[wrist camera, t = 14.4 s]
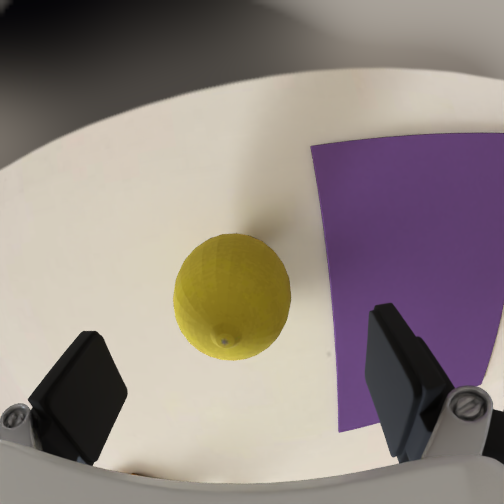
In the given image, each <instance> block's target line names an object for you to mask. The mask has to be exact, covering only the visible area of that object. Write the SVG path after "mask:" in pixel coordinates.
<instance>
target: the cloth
mask: <svg viewBox="0 0 504 504" xmlns="http://www.w3.org/2000/svg"><path fill="white" fill-rule="evenodd" d="M311 152H312V158H313V164H314V169H315V175H316V181H317V187H318V194H319V200H320V207H321V214H322V221H323V228H324V236H325V244H326V252H327V260H328V269H329V278H330V288H331V298H332V309H333V321H334V335H335V350H336V367H337V390H338V431H339V433H340V432H344V431H349V430H353V429H357V428H361V427H365V426H369V425H372V424H376V423H380V420H379V417H378V415H377V412H376V409H375V406H374V403H373V400H372V397H371V395H370V392H369V389H368V386H367V384H366V381H365V362H366V351H367V337H368V319H369V311H371V310H374V307H375V305H380V304H385V303H393V305H394V306H395V307H396V309H397V310H398V311H399V313H400V314H401V316H402V317H403V319H404V320H405V321H406V323H407V324H408V326H409V327H410V329H411V330H412V331H413V333H414V334H415V336H416V337H417V336H419V337H421V338H422V339H423V340H424V342H425V343H426V344H427V346H428V347H429V349H430V350H431V352H432V353H433V355H434V356H435V358H436V359H437V361H438V362H439V364H440V365H441V367H442V368H443V370H444V371H445V373H446V374H447V376H448V377H449V379H450V381H451V382H452V384H453V385H454V387H455V388H457V387H459V386H465V385H471V386H479V385H481V384H482V381H483V378H484V375H485V372H486V369H487V366H488V363H489V360H490V357H491V353H492V350H493V346H494V343H495V339H496V335H497V331H498V327H499V323H500V319H501V314H502V310H503V305H504V133H445V134H423V135H407V136H393V137H382V138H371V139H362V140H353V141H345V142H337V143H329V144H322V145H315V146H311Z"/></svg>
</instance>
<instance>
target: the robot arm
mask: <svg viewBox="0 0 504 504" xmlns="http://www.w3.org/2000/svg"><path fill="white" fill-rule="evenodd" d="M365 381H366V384H367V386H368V389H369V392H370V395H371V397H372V400H373V403H374V406H375V409H376V412H377V415H378V417H379V420H380V423H381V426H382V429H383V432H384V435H385V438H386V441H387V444H388V448H389V451H390V454H391V456H392V457H396V456H397V458H398V461H399V464H395V465H391V466H386V467H381V468H376V469H371V470H367V471H362V472H356V473H351V474H345V475H339V476H332V477H325V478H317V479H309V480H300V481H290V482H276V483H254V484H223V483H199V482H186V481H175V480H166V479H158V478H151V477H144V476H138V475H132V474H126V473H121V472H116V471H111V470H107V469H102V468H98V467H94V466H93V464H94V462H96V461H97V460H98V458H99V456H100V454H101V451H102V449H103V447H104V445H105V443H106V440H107V438H108V436H109V434H110V432H111V429H112V427H113V425H114V423H115V421H116V419H117V417H118V414H119V412H120V410H121V408H122V406H123V404H124V402H125V400H126V398H127V394H128V393H127V388H126V386H125V384H124V382H123V380H122V378H121V376H120V373H119V371H118V369H117V367H116V365H115V363H114V361H113V359H112V357H111V354H110V352H109V350H108V348H107V345H106V343H105V341H104V339H103V337H102V336H101V335H99V333H98V332H96V331H83V332H81V333H80V334H79V336H78V337H77V338H76V339H75V340H74V342H73V343H72V344H71V345H70V346H69V348H68V349H67V350H66V351H65V352H64V354H63V355H62V356H61V357H60V359H59V360H58V361H57V362H56V364H55V365H54V366H53V367H52V369H51V370H50V371H49V372H48V374H47V375H46V376H45V377H44V379H43V380H42V381H41V383H40V384H39V385H38V387H37V388H36V389H35V390H34V392H33V393H32V394H31V396H30V397H29V398H28V401H29V402H30V404H31V405H32V407H33V408H32V409H31V410H30V409H29V407H28V406H27V405H25V404H21V403H18V404H14V405H12V406H10V407H9V408H7V409H6V410H5V411H4V413H3V414H2V416H1V418H0V504H504V412H502V411H498V410H494V409H493V402H492V399H491V397H490V396H489V394H488V393H487V392H486V391H485V390H483V389H482V388H479V387H476V386H471V385H465V386H459V387H457V388H455V387H454V385H453V384H452V382H451V381H450V379H449V377H448V376H447V374H446V373H445V371H444V370H443V368H442V367H441V365H440V364H439V362H438V361H437V359H436V358H435V356H434V355H433V353H432V352H431V350H430V349H429V347H428V346H427V344H426V343H425V342H424V340H423V339H422V338H421V337H419V336H417V337H416V336H415V334H414V333H413V331H412V330H411V329H410V327H409V326H408V324H407V323H406V321H405V320H404V319H403V317H402V316H401V314H400V313H399V311H398V310H397V309H396V307H395V306H394V305H393V303H385V304H380V305H375V307H374V310H371V311H369V319H368V337H367V351H366V362H365Z"/></svg>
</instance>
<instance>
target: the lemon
mask: <svg viewBox="0 0 504 504" xmlns="http://www.w3.org/2000/svg"><path fill="white" fill-rule="evenodd" d="M173 303H174V310H175V317H176V320H177V323H178V325H179V327H180V330H181V332H182V333H183V335H184V336H185V337H186V338H187V340H188V341H189V342H190V344H191V345H193V346H194V347H195V348H196V349H198V350H199V351H200V352H202V353H204V354H206V355H208V356H210V357H214V358H217V359H221V360H233V361H234V360H242V359H247V358H250V357H252V356H255V355H257V354H259V353H260V352H262V351H264V350H265V349H267V348H268V347H269V346H270V345H271V344H272V343H273V342H274V341H275V340H276V339H277V337H278V336H279V335H280V333H281V331H282V329H283V327H284V325H285V323H286V321H287V317H288V313H289V308H290V303H291V291H290V281H289V277H288V275H287V272H286V270H285V267H284V264H283V263H282V261H281V260H280V258H279V257H278V256H277V254H276V253H275V252H274V251H273V250H272V249H271V248H270V247H269V246H267V245H266V244H265V243H264V242H262V241H260V240H258V239H256V238H253V237H251V236H248V235H242V234H237V233H236V234H222V235H219V236H216V237H213V238H210V239H208V240H207V241H205V242H204V243H202V244H201V245H199V246H197V247H196V248H195V249H194V250H193V251H192V253H191V254H190V255H189V256H188V257H187V258H186V259H185V261H184V263H183V265H182V267H181V269H180V271H179V273H178V275H177V278H176V283H175V289H174V296H173Z"/></svg>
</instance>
